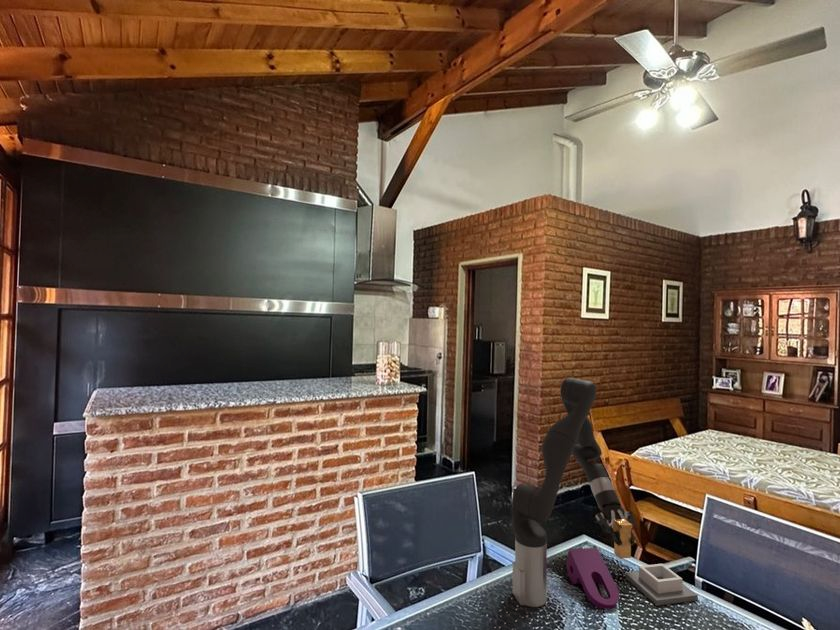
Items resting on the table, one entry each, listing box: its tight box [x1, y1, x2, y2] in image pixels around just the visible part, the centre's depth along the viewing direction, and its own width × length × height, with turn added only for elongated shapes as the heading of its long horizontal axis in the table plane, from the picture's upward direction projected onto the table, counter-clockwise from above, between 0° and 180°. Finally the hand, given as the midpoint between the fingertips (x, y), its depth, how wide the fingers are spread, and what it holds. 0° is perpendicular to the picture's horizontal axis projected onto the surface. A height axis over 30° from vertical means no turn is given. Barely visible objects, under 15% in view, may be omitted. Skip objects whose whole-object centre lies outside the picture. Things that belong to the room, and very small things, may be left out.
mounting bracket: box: [565, 547, 620, 610], centre depth 135 cm, size 9×8×18 cm
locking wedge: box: [613, 518, 632, 559], centre depth 145 cm, size 4×4×11 cm
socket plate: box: [625, 563, 699, 606], centre depth 135 cm, size 14×14×5 cm
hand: (626, 544), depth 143 cm, fingers closed on locking wedge, 4 cm apart
